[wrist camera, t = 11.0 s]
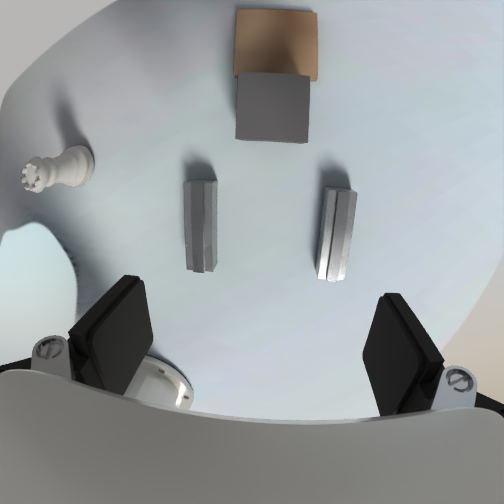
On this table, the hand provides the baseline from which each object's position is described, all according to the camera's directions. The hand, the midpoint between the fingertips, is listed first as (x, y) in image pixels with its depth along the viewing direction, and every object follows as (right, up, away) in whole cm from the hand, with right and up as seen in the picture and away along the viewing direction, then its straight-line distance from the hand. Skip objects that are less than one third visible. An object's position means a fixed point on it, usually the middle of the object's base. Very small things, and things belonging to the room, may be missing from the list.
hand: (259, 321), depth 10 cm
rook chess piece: (-18, +12, +15) cm, 26 cm away
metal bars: (+1, +5, +15) cm, 16 cm away
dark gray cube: (+2, +14, +12) cm, 19 cm away
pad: (+2, +21, +9) cm, 23 cm away
